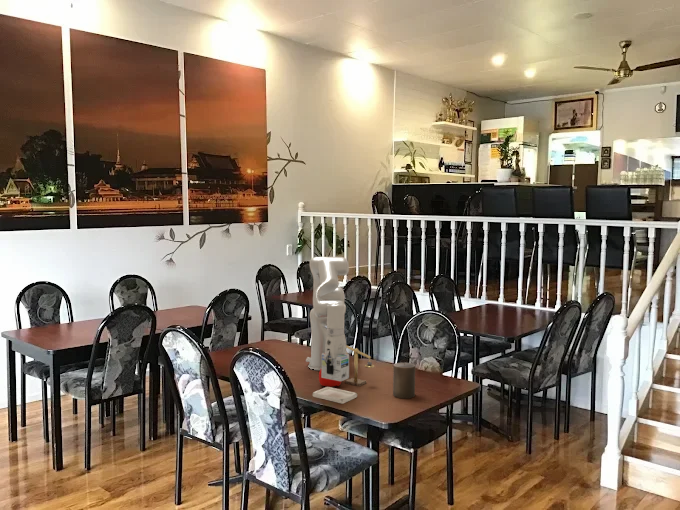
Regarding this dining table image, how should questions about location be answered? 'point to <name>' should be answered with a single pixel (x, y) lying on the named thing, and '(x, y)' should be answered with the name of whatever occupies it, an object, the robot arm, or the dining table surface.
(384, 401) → the dining table surface
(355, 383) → the balance
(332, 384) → the tomato
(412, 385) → the pillar candle
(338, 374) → the light bulb box
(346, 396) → the platter
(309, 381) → the dining table surface
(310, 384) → the dining table surface
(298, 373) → the dining table surface
